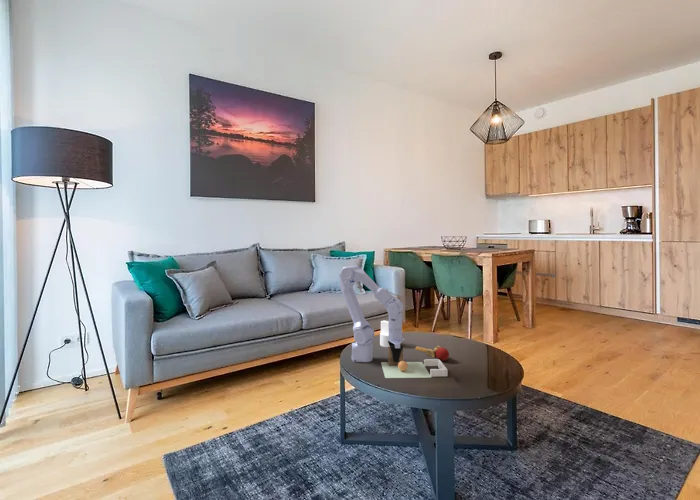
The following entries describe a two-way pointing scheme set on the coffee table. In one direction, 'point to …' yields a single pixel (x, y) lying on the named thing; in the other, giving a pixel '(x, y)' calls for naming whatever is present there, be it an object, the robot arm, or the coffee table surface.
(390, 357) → the tall cardboard box
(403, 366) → the ball
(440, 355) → the kendama
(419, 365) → the pitch
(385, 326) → the cylinder with rectangular tab
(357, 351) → the robot arm
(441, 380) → the coffee table surface
